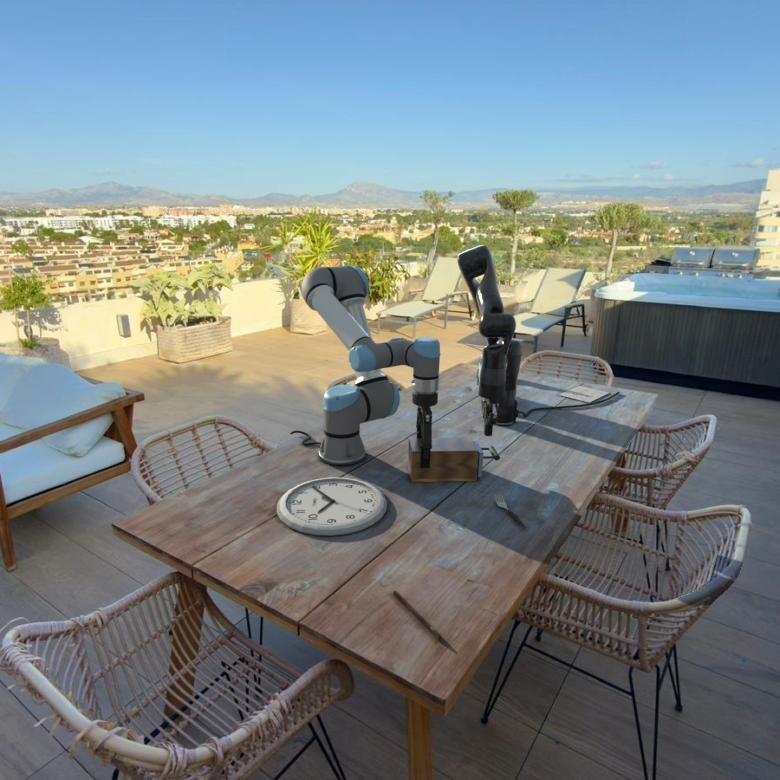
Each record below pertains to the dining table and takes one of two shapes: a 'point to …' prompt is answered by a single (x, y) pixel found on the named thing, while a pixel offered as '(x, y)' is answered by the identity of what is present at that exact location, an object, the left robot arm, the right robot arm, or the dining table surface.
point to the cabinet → (444, 460)
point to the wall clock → (331, 506)
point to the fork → (504, 505)
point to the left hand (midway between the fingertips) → (422, 459)
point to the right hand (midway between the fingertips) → (487, 435)
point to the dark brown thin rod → (416, 614)
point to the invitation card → (584, 394)
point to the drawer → (485, 457)
